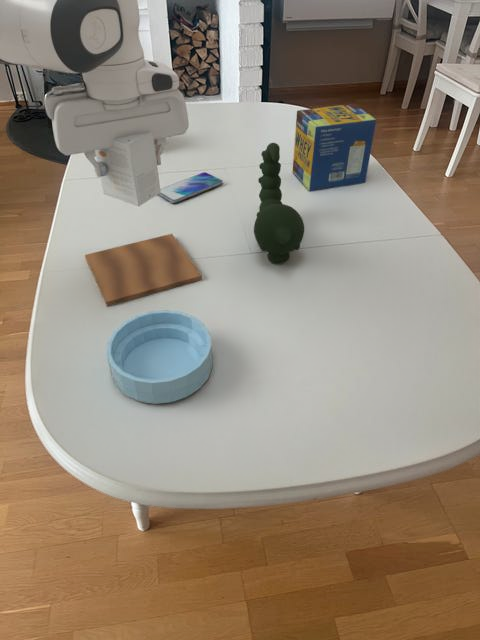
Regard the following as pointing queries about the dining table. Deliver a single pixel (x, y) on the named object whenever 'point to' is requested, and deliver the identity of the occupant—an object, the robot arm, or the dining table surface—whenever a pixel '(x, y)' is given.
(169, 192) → the smartphone
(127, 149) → the small box
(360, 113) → the protein box
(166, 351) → the bowl
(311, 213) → the dining table surface
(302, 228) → the toy figurine
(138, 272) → the brown wooden board
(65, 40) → the robot arm
